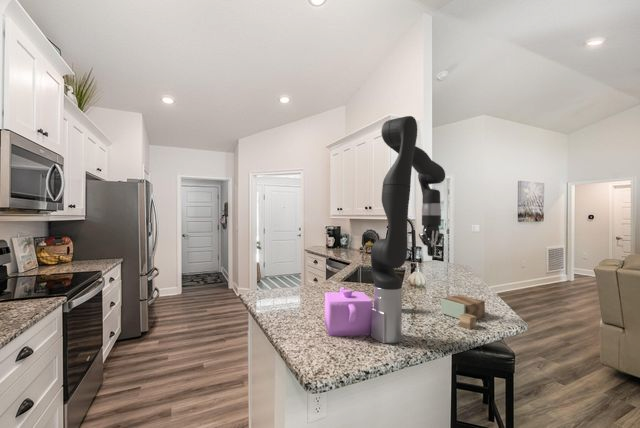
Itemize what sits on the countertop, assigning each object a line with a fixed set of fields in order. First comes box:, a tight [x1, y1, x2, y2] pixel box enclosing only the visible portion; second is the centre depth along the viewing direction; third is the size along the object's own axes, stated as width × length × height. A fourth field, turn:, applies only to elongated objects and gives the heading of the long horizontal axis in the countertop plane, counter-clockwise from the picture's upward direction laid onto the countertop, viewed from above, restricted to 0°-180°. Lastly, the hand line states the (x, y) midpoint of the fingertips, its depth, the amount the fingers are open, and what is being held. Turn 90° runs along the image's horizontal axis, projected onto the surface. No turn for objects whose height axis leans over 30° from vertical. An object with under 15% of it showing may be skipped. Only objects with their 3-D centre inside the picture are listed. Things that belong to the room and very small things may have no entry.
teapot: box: [324, 286, 374, 337], centre depth 106 cm, size 15×25×14 cm, turn 5°
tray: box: [440, 298, 466, 320], centre depth 122 cm, size 12×10×6 cm
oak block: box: [459, 314, 477, 330], centre depth 108 cm, size 4×4×4 cm
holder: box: [441, 294, 486, 320], centre depth 122 cm, size 12×12×6 cm
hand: (431, 255), depth 120 cm, fingers closed
